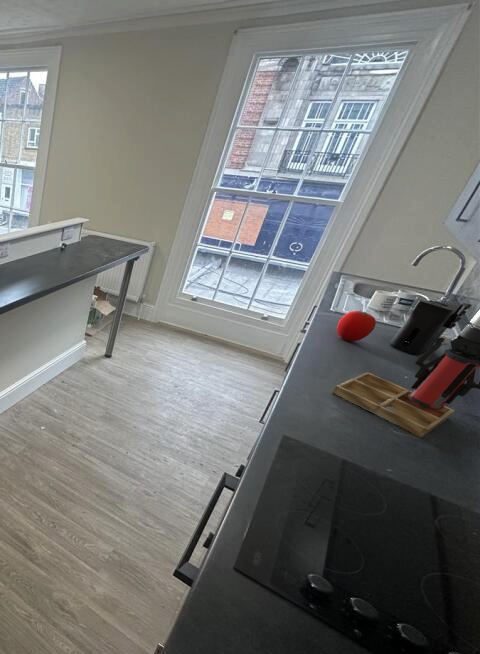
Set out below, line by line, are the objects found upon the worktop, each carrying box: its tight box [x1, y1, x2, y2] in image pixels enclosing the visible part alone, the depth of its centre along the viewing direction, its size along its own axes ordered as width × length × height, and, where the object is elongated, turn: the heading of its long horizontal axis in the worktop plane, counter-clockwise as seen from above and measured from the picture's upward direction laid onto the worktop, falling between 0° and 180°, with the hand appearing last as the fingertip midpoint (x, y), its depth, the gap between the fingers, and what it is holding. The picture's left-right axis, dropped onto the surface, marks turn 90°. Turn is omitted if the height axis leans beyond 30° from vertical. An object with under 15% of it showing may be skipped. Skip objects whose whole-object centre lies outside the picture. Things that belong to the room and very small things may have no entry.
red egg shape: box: [336, 310, 377, 342], centre depth 165 cm, size 11×11×13 cm
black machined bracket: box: [389, 299, 473, 356], centre depth 161 cm, size 12×21×22 cm, turn 119°
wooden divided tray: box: [331, 371, 456, 439], centre depth 126 cm, size 22×22×3 cm
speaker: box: [408, 347, 480, 410], centre depth 119 cm, size 8×8×18 cm
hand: (430, 394), depth 122 cm, fingers closed on speaker, 7 cm apart
